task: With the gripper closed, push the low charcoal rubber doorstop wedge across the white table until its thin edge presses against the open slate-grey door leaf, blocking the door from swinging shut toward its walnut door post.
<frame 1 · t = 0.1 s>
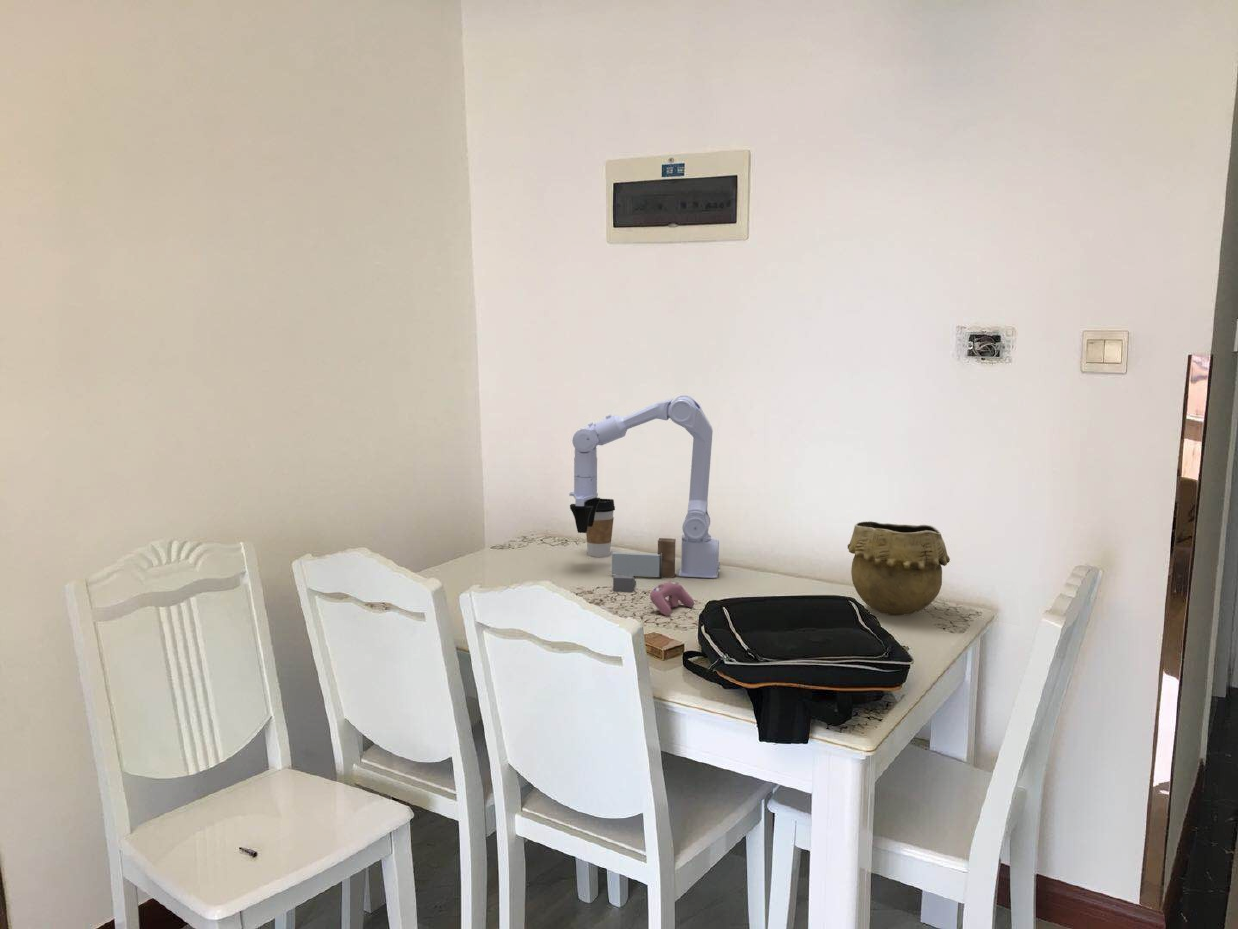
hand: (585, 529, 241), 10 cm above the table, fingers open, 7 cm apart
door leaf: (636, 564, 235), point 3 cm above the table, hinge at -90.0°
clay pot: (894, 613, 209), on the table
doorstop wedge: (624, 589, 226), on the table
door post: (666, 575, 237), on the table
video game controller: (671, 611, 209), on the table
coffee cup: (598, 555, 258), on the table
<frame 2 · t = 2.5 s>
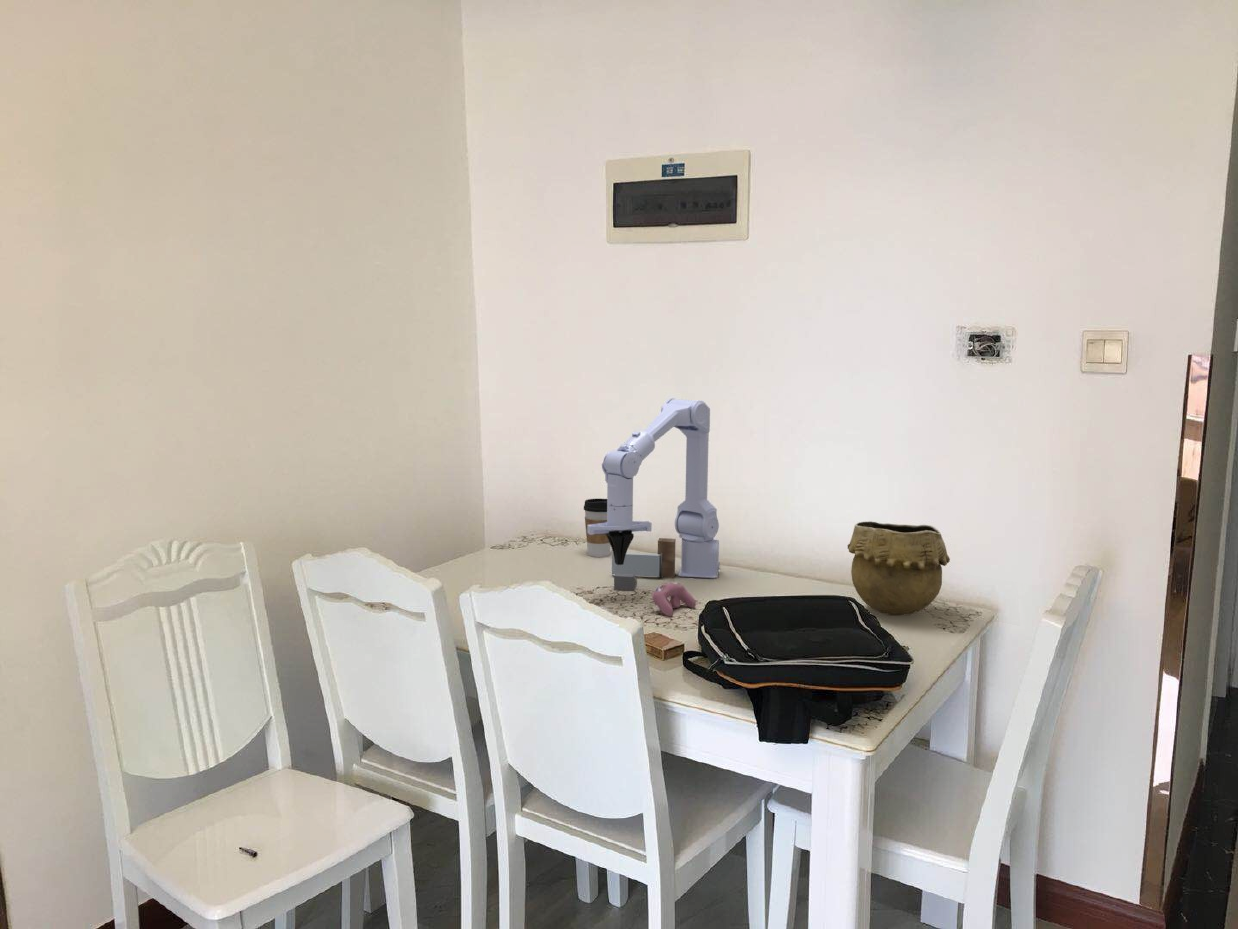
hand: (619, 563, 217), 8 cm above the table, fingers closed
doorstop wedge: (625, 587, 227), on the table
everything else where it was.
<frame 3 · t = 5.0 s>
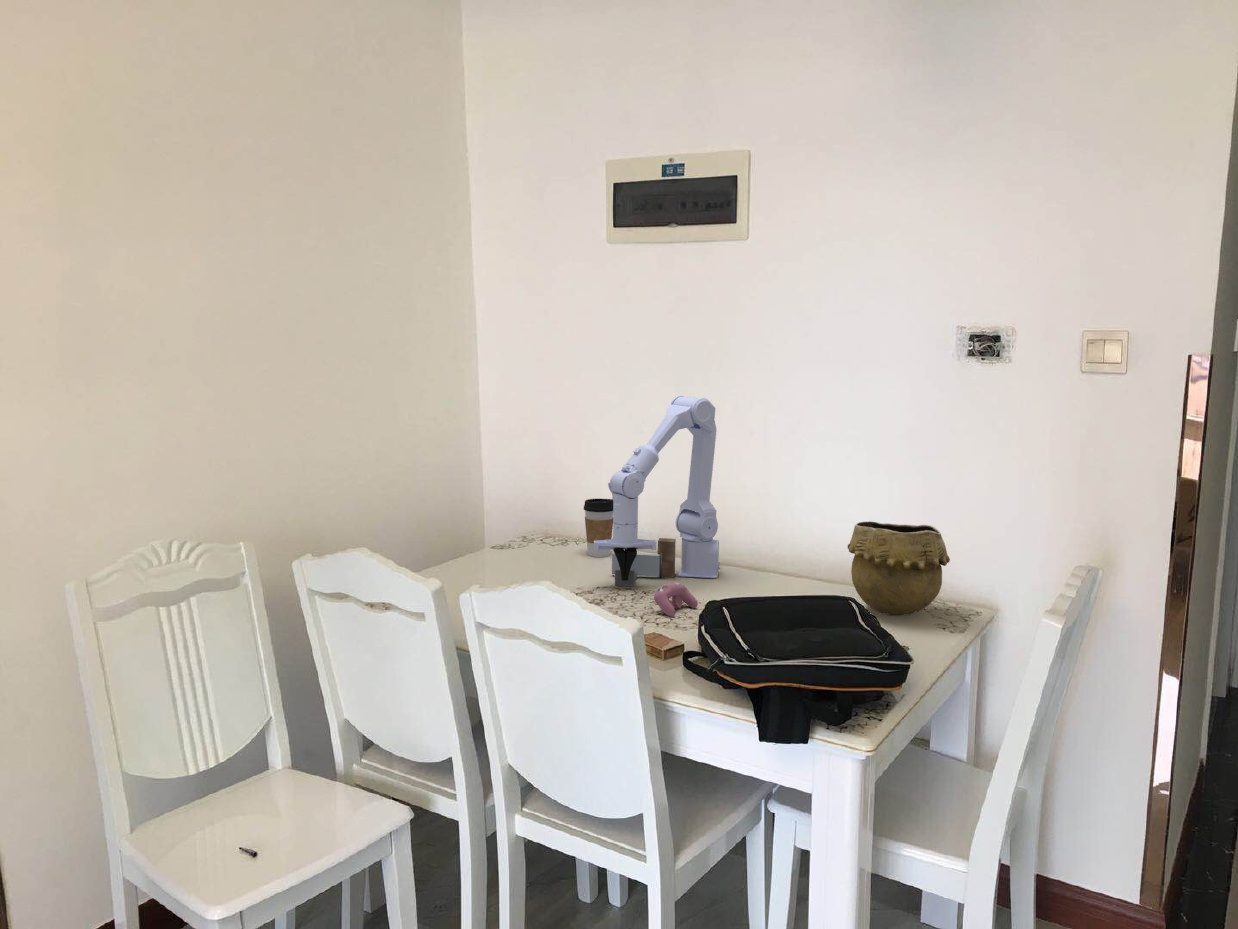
hand: (624, 579, 226), 2 cm above the table, fingers closed, pressing on doorstop wedge
door leaf: (636, 564, 235), point 3 cm above the table, hinge at -90.6°, touching doorstop wedge
doorstop wedge: (625, 581, 231), on the table, touching door leaf, gripper
everything else where it was.
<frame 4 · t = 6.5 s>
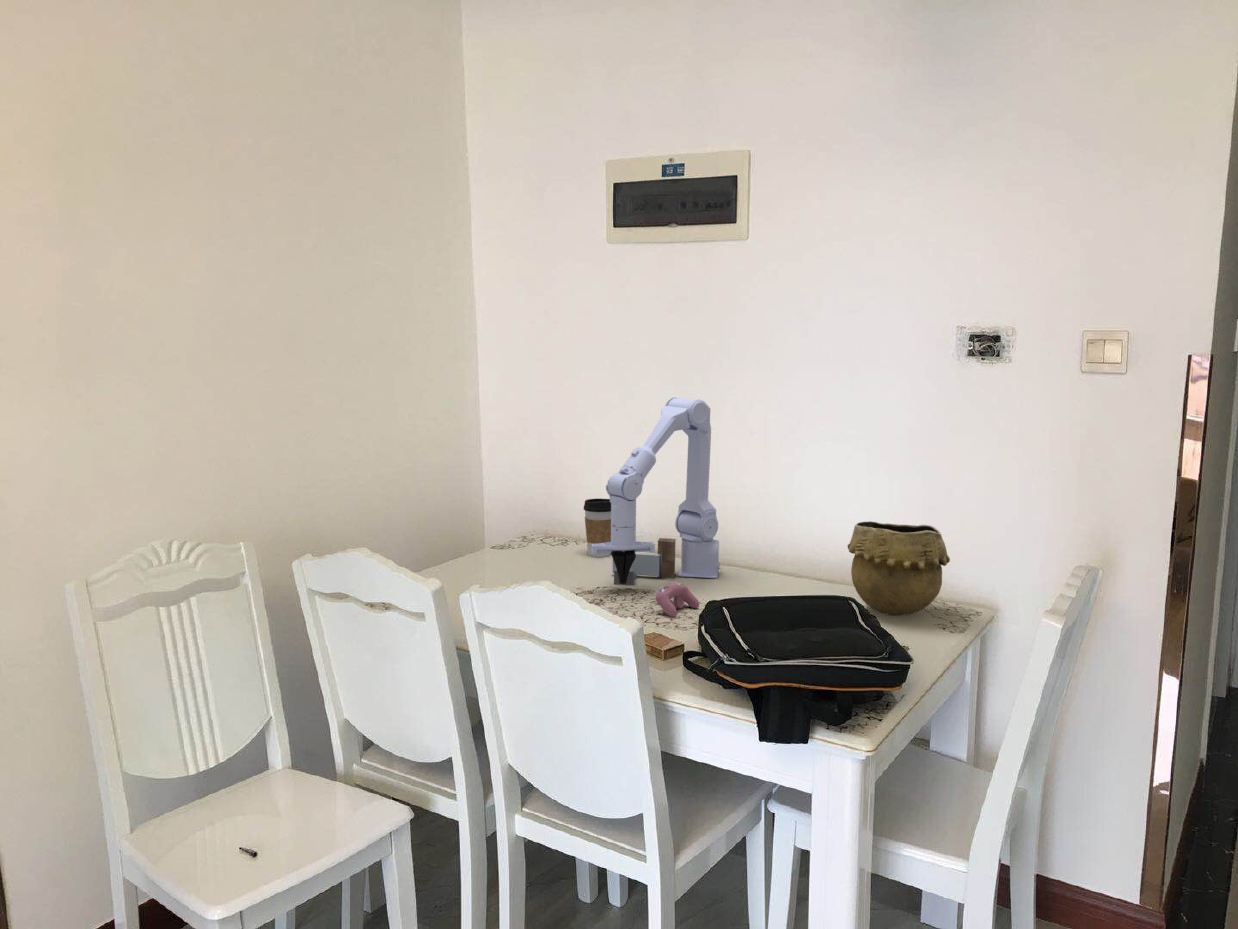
hand: (622, 582, 223), 2 cm above the table, fingers closed
door leaf: (636, 563, 236), point 3 cm above the table, hinge at -95.6°
doorstop wedge: (625, 582, 232), on the table
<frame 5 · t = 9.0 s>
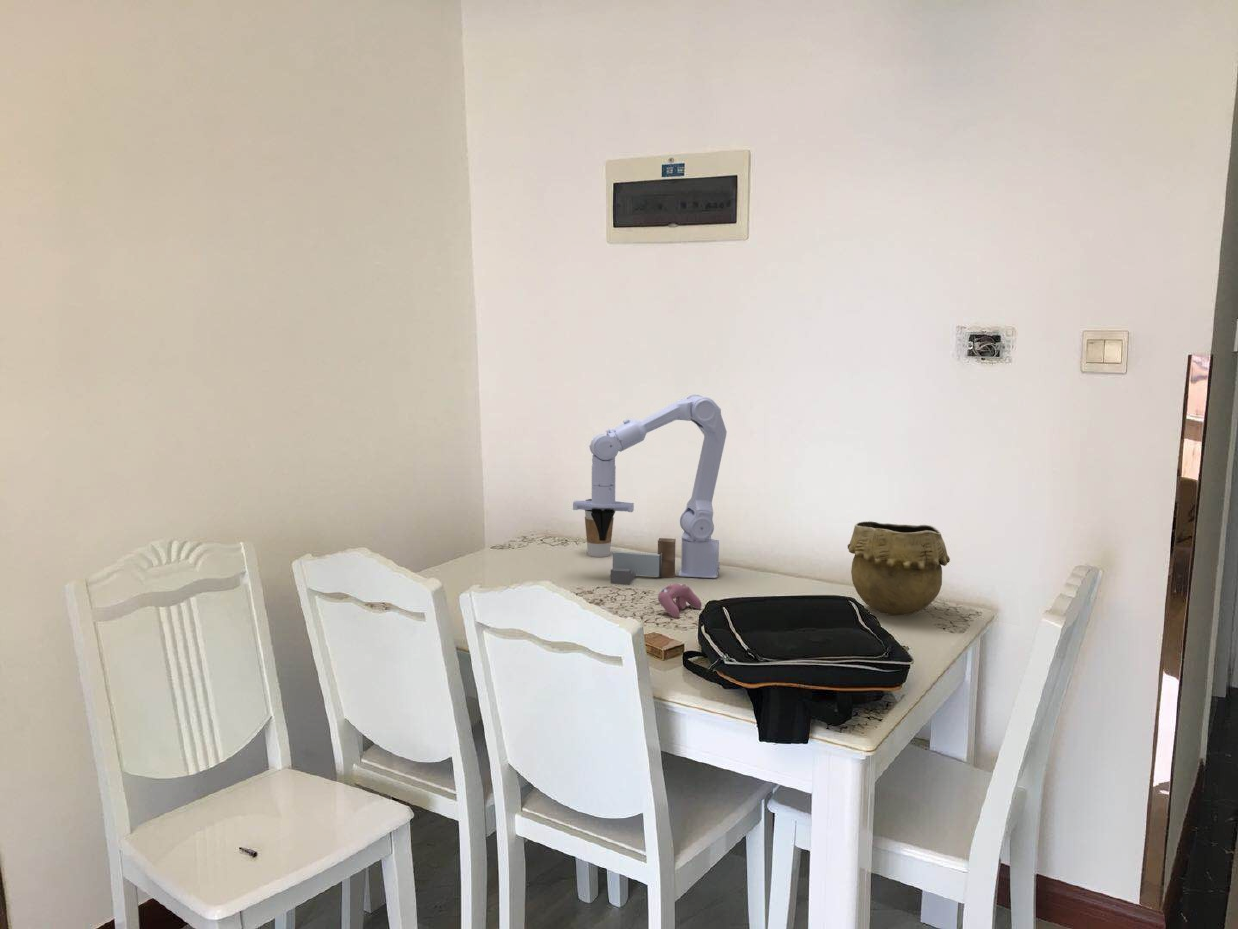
hand: (603, 539, 233), 9 cm above the table, fingers closed
at the end: door leaf at -96° (first picture: -90°); doorstop wedge 1.2 cm from the target spot, on the table; doorstop wedge tilted 0° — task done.
